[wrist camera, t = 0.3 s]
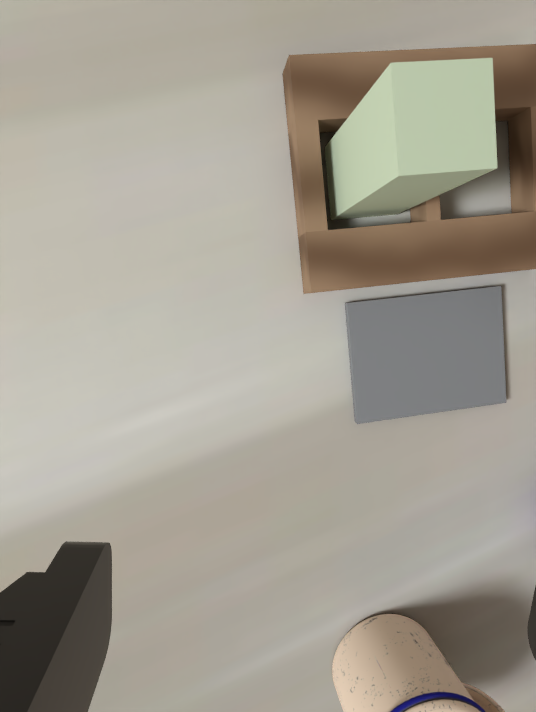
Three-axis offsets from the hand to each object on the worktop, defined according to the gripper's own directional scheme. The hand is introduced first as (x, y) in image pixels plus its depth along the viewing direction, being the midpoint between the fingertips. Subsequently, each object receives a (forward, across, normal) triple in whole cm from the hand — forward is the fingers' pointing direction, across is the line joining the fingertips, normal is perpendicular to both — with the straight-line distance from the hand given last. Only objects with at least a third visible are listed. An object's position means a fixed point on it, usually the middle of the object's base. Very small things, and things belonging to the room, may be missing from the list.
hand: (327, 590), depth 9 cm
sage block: (+28, -6, -12) cm, 31 cm away
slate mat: (+27, -13, 0) cm, 30 cm away
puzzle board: (+28, -10, -12) cm, 32 cm away
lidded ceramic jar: (+25, -13, +26) cm, 38 cm away
